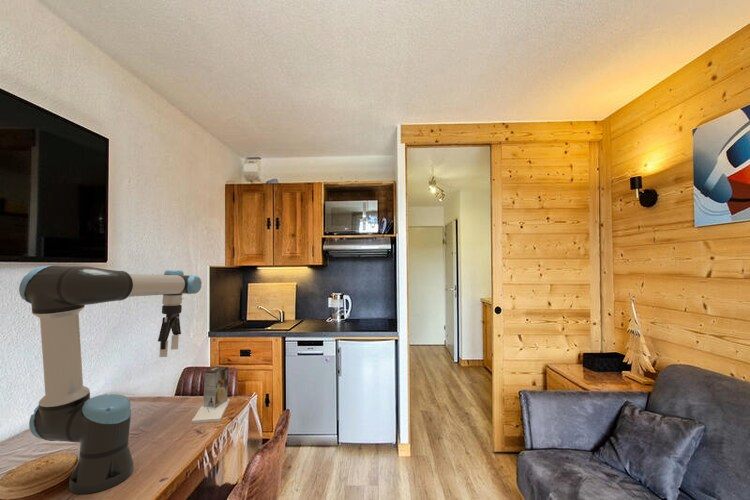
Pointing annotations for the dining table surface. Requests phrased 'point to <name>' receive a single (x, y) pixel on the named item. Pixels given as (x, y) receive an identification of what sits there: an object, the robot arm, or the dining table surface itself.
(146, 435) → the dining table surface
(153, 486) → the dining table surface
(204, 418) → the marked board
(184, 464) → the dining table surface
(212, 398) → the coffee box
